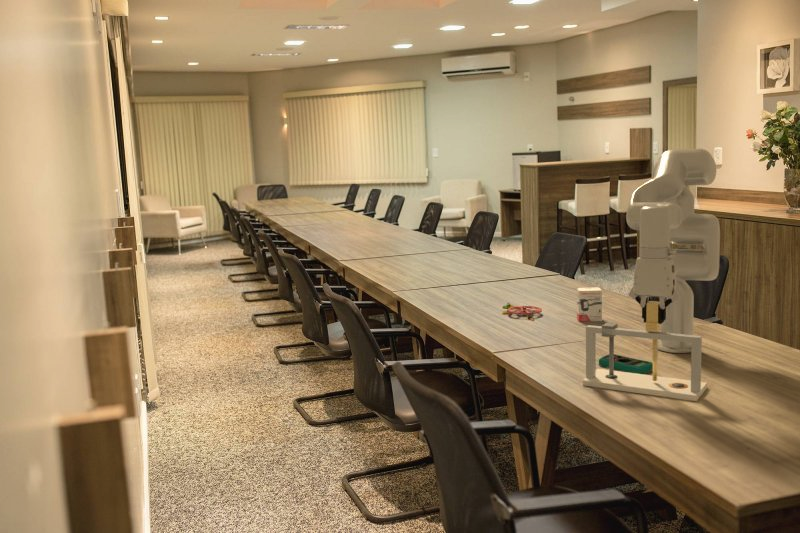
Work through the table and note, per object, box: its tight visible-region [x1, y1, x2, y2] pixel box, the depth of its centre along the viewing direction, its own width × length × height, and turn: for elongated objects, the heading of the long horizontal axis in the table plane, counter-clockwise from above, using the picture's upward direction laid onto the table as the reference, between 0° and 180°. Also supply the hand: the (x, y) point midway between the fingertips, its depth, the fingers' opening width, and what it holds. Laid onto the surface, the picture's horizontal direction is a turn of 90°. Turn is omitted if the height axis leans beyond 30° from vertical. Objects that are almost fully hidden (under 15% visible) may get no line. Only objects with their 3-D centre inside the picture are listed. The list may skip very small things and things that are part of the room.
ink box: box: [576, 286, 603, 323], centre depth 291 cm, size 8×5×12 cm, turn 86°
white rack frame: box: [582, 321, 708, 402], centre depth 213 cm, size 12×30×17 cm, turn 57°
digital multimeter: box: [598, 353, 653, 375], centre depth 232 cm, size 7×15×3 cm, turn 39°
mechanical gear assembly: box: [502, 302, 543, 322], centre depth 309 cm, size 30×4×15 cm
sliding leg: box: [645, 300, 662, 381], centre depth 210 cm, size 4×3×22 cm
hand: (653, 321), depth 209 cm, fingers closed on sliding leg, 3 cm apart
